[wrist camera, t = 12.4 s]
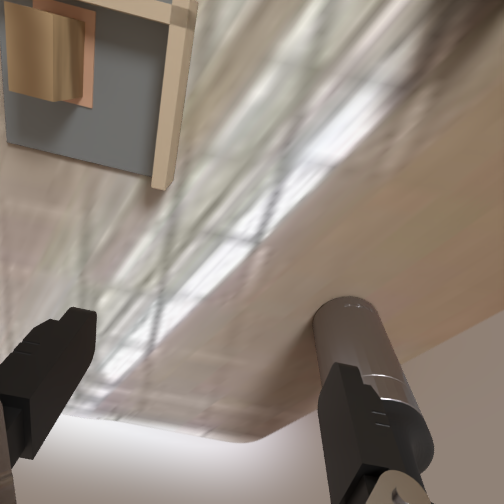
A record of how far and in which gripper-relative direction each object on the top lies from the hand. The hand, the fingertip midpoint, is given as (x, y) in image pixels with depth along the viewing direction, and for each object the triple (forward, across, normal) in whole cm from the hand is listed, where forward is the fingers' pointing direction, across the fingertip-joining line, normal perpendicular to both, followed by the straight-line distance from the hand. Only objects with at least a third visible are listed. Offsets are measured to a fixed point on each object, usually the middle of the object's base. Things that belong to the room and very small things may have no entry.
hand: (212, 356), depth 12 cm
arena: (+33, +18, -4) cm, 38 cm away
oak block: (+32, +21, -5) cm, 39 cm away
